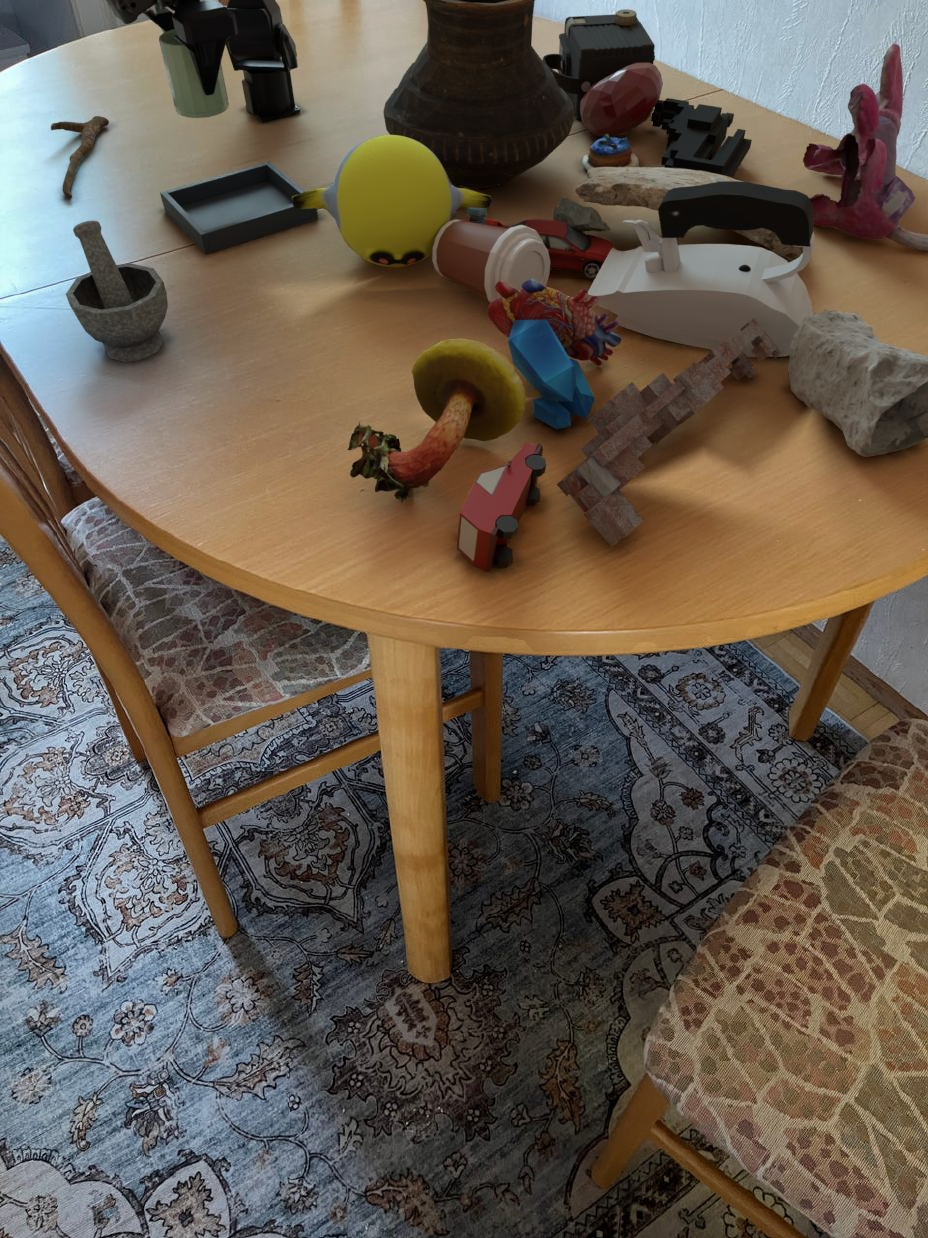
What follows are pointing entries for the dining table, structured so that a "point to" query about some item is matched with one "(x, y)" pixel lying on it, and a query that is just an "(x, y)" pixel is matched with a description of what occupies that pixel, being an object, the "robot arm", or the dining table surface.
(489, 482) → the toy truck
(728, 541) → the dining table surface
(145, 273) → the mortar and pestle
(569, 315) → the anatomical model
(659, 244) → the iron
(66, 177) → the branch
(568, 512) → the dining table surface
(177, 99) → the cup
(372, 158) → the toy
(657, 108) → the tool
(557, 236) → the toy car
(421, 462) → the mushroom
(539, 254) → the coffee cup
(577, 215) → the stone
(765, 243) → the stone fragment
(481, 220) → the button
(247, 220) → the tray
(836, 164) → the toy
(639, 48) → the camera
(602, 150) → the dessert
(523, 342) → the crystal
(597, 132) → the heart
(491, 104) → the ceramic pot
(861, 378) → the decorative stone
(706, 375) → the sculpture
